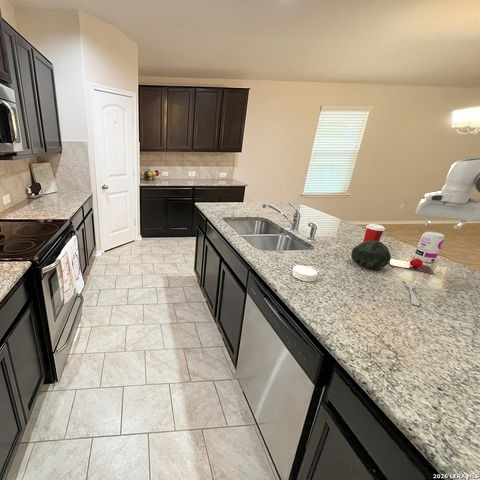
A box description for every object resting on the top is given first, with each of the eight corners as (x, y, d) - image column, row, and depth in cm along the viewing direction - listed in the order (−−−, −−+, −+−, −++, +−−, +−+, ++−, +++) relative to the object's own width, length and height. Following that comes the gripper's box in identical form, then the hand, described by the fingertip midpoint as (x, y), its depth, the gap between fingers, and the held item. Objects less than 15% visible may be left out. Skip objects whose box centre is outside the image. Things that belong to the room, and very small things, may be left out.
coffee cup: (374, 248, 148) (382, 224, 143) (378, 254, 141) (387, 229, 136) (357, 246, 152) (364, 222, 146) (360, 251, 145) (368, 226, 139)
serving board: (428, 266, 128) (428, 265, 128) (433, 274, 120) (434, 273, 120) (387, 258, 136) (387, 257, 136) (390, 265, 128) (390, 264, 128)
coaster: (319, 283, 112) (321, 276, 110) (295, 280, 114) (296, 273, 112) (311, 272, 121) (313, 266, 120) (289, 270, 123) (290, 263, 121)
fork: (408, 308, 99) (411, 303, 98) (402, 281, 114) (404, 276, 113) (418, 311, 97) (421, 305, 96) (410, 283, 112) (413, 278, 111)
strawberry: (414, 264, 129) (425, 262, 125) (412, 269, 127) (424, 268, 123) (409, 257, 129) (420, 255, 125) (407, 263, 127) (418, 261, 123)
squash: (361, 246, 137) (360, 231, 127) (395, 257, 126) (398, 241, 116) (346, 266, 135) (345, 252, 125) (380, 279, 124) (382, 265, 114)
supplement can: (436, 261, 134) (448, 234, 128) (431, 264, 130) (443, 237, 124) (415, 255, 140) (426, 230, 135) (410, 258, 136) (421, 232, 131)
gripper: (486, 198, 107) (472, 229, 112) (420, 193, 118) (410, 222, 123) (493, 201, 102) (478, 233, 107) (424, 195, 113) (413, 225, 118)
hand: (441, 227), depth 115 cm, fingers open, 8 cm apart
